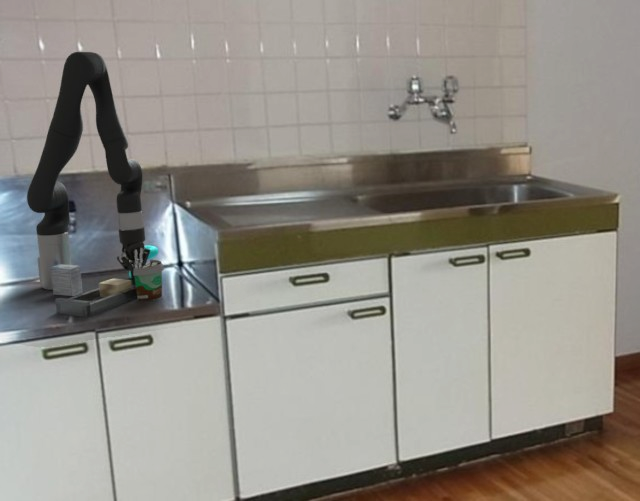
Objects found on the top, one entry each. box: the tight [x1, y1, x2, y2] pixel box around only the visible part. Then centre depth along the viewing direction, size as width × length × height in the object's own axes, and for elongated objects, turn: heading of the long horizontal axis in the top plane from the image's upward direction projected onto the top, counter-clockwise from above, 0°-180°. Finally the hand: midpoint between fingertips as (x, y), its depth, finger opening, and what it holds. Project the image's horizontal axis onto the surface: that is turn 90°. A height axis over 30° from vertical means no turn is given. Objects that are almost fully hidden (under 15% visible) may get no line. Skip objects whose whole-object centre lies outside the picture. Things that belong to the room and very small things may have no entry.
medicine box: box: [51, 264, 84, 297], centre depth 223 cm, size 8×4×9 cm, turn 65°
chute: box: [55, 285, 138, 318], centre depth 212 cm, size 11×24×4 cm, turn 154°
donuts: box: [128, 244, 159, 279], centre depth 241 cm, size 10×10×10 cm
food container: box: [133, 259, 165, 302], centre depth 217 cm, size 12×6×10 cm, turn 168°
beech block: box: [98, 278, 133, 297], centre depth 217 cm, size 7×6×4 cm
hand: (136, 282), depth 225 cm, fingers closed
